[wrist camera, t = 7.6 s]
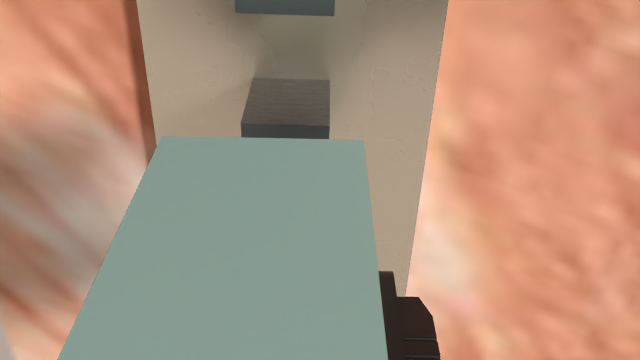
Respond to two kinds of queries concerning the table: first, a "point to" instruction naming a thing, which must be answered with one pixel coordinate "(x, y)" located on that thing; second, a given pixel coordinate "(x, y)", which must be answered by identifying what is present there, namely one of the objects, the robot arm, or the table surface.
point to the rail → (306, 86)
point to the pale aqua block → (240, 257)
